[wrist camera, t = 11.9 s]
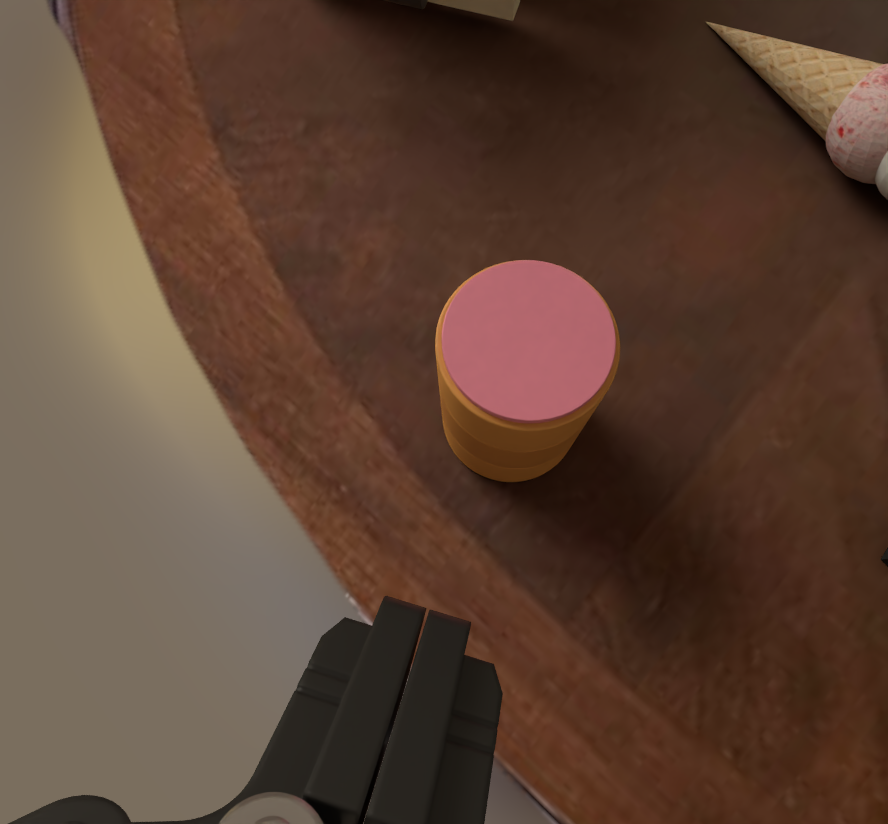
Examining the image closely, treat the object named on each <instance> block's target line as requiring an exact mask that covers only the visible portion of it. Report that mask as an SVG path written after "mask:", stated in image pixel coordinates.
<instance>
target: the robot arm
mask: <svg viewBox="0 0 888 824" xmlns="http://www.w3.org/2000/svg"><path fill="white" fill-rule="evenodd" d="M425 612H426V608H424V607H421V606H418V605H414V604H411V603H408V602H405V601H402V600H398V599H395V598H392V597H389V596H385V597H384V599H383V601H382V603H381V606H380V608H379V610H378V613H377V615H376V618H375V620H374V623H373V625H372V626H371V625H368V624H365V623H362V622H358V621H355V620H352V619H349V618H346V617H345V618H344V619H342V620H341V621H340V622H339V623H338V624H336V625H335V626H334V627H333V628H331V629H330V630H329V631H328V632H326V634H324V635H323V636H322V637H321V639H320V641H319V643H318V645H317V647H316V649H315V651H314V653H313V655H312V657H311V659H310V661H309V664H308V667H307V668H306V669H305V671H304V673H303V675H302V677H301V679H300V681H299V683H298V686H297V689H296V691H294V693H293V695H292V697H291V700H290V701H289V703H288V705H287V707H286V710H285V711H284V714H283V715H282V717H281V720H280V722H279V724H278V726H277V728H276V730H275V732H274V734H273V736H272V738H271V740H270V742H269V744H268V746H267V748H266V750H265V752H264V754H263V756H262V758H261V760H260V762H259V764H258V766H257V768H256V770H255V772H254V774H253V776H252V777H251V779H250V781H249V783H248V784H247V785H246V787H245V788H244V789H243V790H242V792H241V793H240V794H239V795H238V796H237V797H236V798H234V799H233V800H232V801H231V802H230V803H228V804H227V805H225V806H224V807H222V808H221V809H219V810H217V811H215V812H213V813H211V814H208V815H206V816H203V817H200V818H196V819H192V820H185V821H166V822H131V821H130V819H129V817H128V816H127V814H126V813H125V811H124V810H123V809H122V808H121V807H120V806H119V805H117V804H116V803H114V802H113V801H110V800H108V799H105V798H103V797H98V796H90V795H81V796H73V797H68V798H65V799H61V800H58V801H55V802H53V803H51V804H48V805H46V806H44V807H42V808H40V809H38V810H36V811H34V812H31V813H29V814H27V815H25V816H23V817H21V818H19V819H17V820H15V821H13V822H11V823H9V824H363V822H364V824H484V821H485V814H486V807H487V799H488V793H489V786H490V778H491V772H492V765H493V758H494V755H493V754H494V750H495V744H496V737H497V727H498V722H499V715H500V708H501V701H502V694H503V693H502V690H501V687H500V683H499V680H498V677H497V673H496V670H495V667H494V664H492V663H489V662H485V661H482V660H479V659H476V658H473V657H469V656H466V655H464V653H465V649H466V644H467V640H468V635H469V631H470V626H471V622H469V621H466V620H462V619H459V618H456V617H453V616H449V615H446V614H443V613H440V612H436V611H433V610H429V613H428V617H427V620H426V623H425V626H424V629H423V633H422V636H421V639H420V642H419V646H418V649H417V652H416V655H415V659H414V662H413V665H412V668H411V664H412V660H413V657H414V653H415V649H416V645H417V642H418V638H419V634H420V631H421V627H422V623H423V619H424V616H425ZM410 668H411V671H410ZM409 672H410V675H409ZM408 675H409V678H408ZM407 679H408V681H407ZM406 682H407V684H406ZM405 686H406V688H405ZM404 689H405V691H404ZM403 693H404V694H403ZM402 696H403V697H402ZM401 699H402V701H401ZM400 703H401V704H400ZM399 706H400V707H399ZM398 709H399V710H398ZM397 713H398V714H397ZM396 716H397V717H396ZM395 719H396V720H395ZM394 722H395V723H394ZM392 729H393V730H392ZM391 732H392V733H391ZM390 735H391V736H390ZM389 738H390V739H389ZM388 742H389V743H388ZM387 745H388V746H387ZM386 748H387V749H386ZM385 751H386V752H385ZM384 755H385V756H384ZM383 758H384V759H383ZM382 761H383V762H382ZM381 764H382V765H381ZM380 767H381V768H380ZM379 771H380V772H379ZM378 774H379V775H378ZM377 777H378V778H377ZM376 780H377V781H376ZM375 784H376V785H375ZM374 787H375V788H374ZM373 790H374V791H373ZM372 793H373V794H372ZM371 797H372V798H371ZM370 800H371V801H370ZM369 803H370V804H369ZM368 806H369V807H368ZM367 809H368V811H367ZM366 813H367V814H366ZM365 816H366V817H365ZM364 819H365V821H364Z"/></svg>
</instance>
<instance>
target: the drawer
mask: <svg viewBox="0 0 888 824" xmlns="http://www.w3.org/2000/svg"><path fill="white" fill-rule="evenodd" d="M384 1H388V2H392V3H397V4H401V5H405V6H410V7H414V8H418V9H424V8H425V6H426V4H427V2H431V3H436V4H440V5H444V6H449V7H453V8H457V9H462V10H466V11H471V12H475V13H479V14H484V15H488V16H492V17H497V18H501V19H505V20H510V21H513V20H514V17H515V14H516V11H517V9H518V6H519V3H520V0H384Z"/></svg>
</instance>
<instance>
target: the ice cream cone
mask: <svg viewBox="0 0 888 824" xmlns="http://www.w3.org/2000/svg"><path fill="white" fill-rule="evenodd" d="M706 23H707V24H708V25H709V26H710V27H711V28H712V29H713V30H714V31H715V32H716V33H717V34H718V35H719V36H720V37H721V38H722V39H723V40H724V41H725V42H726V43H727V44H728V45H729V46H730V47H731V48H732V49H733V50H734V51H735V52H736V53H737V54H738V55H739V56H740V57H741V58H742V59H743V60H744V61H745V62H746V63H747V64H748V65H749V66H750V67H751V68H752V69H753V70H754V71H755V72H756V73H757V74H758V75H759V76H760V77H761V78H762V79H763V80H764V81H765V82H766V83H767V84H768V85H769V86H770V87H771V88H772V89H773V90H775V91H776V92H777V93H778V94H779V95H780V96H781V97H782V98H783V99H784V100H785V101H786V102H787V103H788V104H789V105H790V106H791V107H792V108H793V109H794V110H795V111H796V112H797V113H798V114H799V115H800V116H801V117H802V118H803V119H804V120H805V121H806V122H807V123H808V124H809V125H810V126H811V127H812V128H813V129H814V130H815V131H816V132H817V133H818V134H819V135H820V136H821V137H822V138H823V139H824V140H825V141H826V148H827V151H828V153H829V155H830V157H831V160H832V162H833V164H834V165H835V166H836V167H837V168H838V169H839V170H840V171H841V172H843V173H844V174H845V175H846V176H847V177H850V178H852V179H855V180H857V181H860V182H862V183H869V184H876V185H877V187H878V189H879V192H880V193H881V194H882V195H883V196H884V197H885V198H886V199H887V200H888V64H884V65H883V64H879V63H875V62H871V61H867V60H863V59H859V58H854V57H850V56H846V55H842V54H838V53H834V52H830V51H825V50H821V49H817V48H813V47H809V46H805V45H801V44H796V43H792V42H788V41H784V40H780V39H776V38H772V37H767V36H763V35H759V34H755V33H751V32H747V31H743V30H738V29H734V28H730V27H726V26H722V25H718V24H714V23H709V22H706Z"/></svg>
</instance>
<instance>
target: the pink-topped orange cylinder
mask: <svg viewBox="0 0 888 824" xmlns="http://www.w3.org/2000/svg"><path fill="white" fill-rule="evenodd" d="M435 352H436V362H437V371H438V381H439V390H440V400H441V409H442V419H443V426H444V431H445V435H446V438H447V440H448V443H449V445H450V447H451V448H452V450H453V452H454V453H455V455H456V456H457V457H458V458H459V459H460V461H462V462H463V463H464V464H465V465H466V466H467V467H468V468H470V469H471V470H472V471H474V472H476V473H478V474H479V475H481V476H484V477H486V478H489V479H492V480H496V481H502V482H520V481H526V480H530V479H533V478H536V477H538V476H541V475H543V474H544V473H546V472H548V471H549V470H551V469H552V468H553V467H555V466H556V465H557V464H558V463H559V462H560V461H561V460H562V459H563V457H564V456H565V455H566V453H567V452H568V450H569V449H570V447H571V446H572V444H573V443H574V441H575V440H576V438H577V437H578V435H579V434H580V432H581V431H582V429H583V428H584V426H585V424H586V423H587V421H588V420H589V418H590V417H591V415H592V414H593V412H594V411H595V409H596V408H597V406H598V405H599V403H600V402H601V400H602V399H603V397H604V396H605V394H606V393H607V391H608V389H609V388H610V386H611V384H612V382H613V380H614V377H615V374H616V371H617V368H618V363H619V358H620V339H619V333H618V328H617V324H616V322H615V319H614V316H613V314H612V312H611V310H610V308H609V307H608V305H607V303H606V302H605V300H604V299H603V298H602V296H601V295H600V294H599V292H598V291H597V290H596V289H595V288H594V287H593V286H592V285H591V284H589V283H588V282H587V281H586V280H584V279H583V278H582V277H580V276H578V275H577V274H575V273H574V272H572V271H570V270H567V269H565V268H563V267H561V266H558V265H555V264H552V263H547V262H542V261H533V260H517V261H510V262H504V263H500V264H497V265H494V266H491V267H489V268H486V269H484V270H482V271H480V272H478V273H477V274H475V275H473V276H472V277H471V278H469V279H468V280H466V281H465V282H464V283H463V284H462V285H461V286H460V287H459V288H458V289H457V290H456V291H455V292H454V293H453V295H452V296H451V297H450V298H449V300H448V302H447V303H446V305H445V307H444V308H443V311H442V313H441V315H440V318H439V321H438V325H437V329H436V337H435Z"/></svg>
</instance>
